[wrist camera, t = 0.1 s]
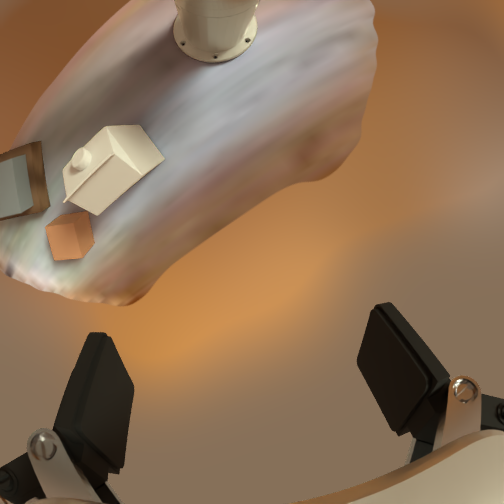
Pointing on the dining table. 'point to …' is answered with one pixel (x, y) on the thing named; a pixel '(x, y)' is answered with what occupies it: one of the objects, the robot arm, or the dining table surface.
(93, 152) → the milk carton
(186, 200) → the dining table surface
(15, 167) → the grey square block
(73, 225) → the orange cube
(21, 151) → the base block
